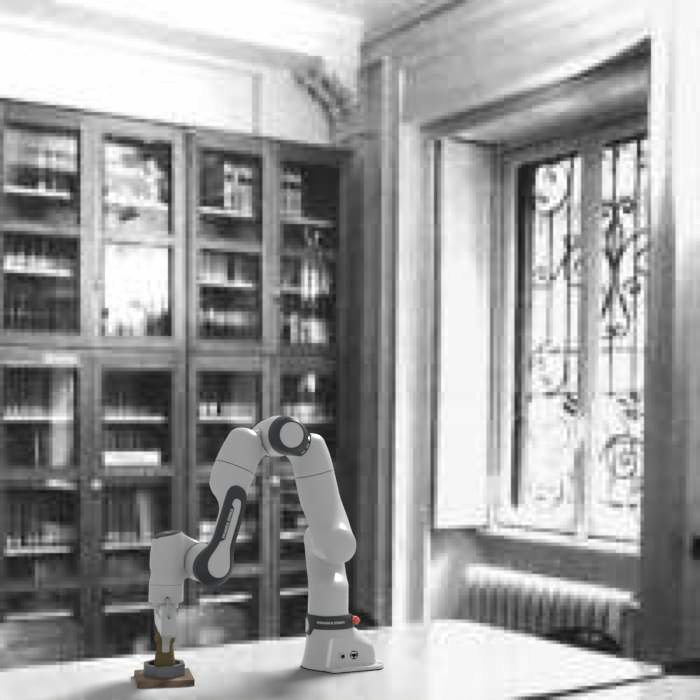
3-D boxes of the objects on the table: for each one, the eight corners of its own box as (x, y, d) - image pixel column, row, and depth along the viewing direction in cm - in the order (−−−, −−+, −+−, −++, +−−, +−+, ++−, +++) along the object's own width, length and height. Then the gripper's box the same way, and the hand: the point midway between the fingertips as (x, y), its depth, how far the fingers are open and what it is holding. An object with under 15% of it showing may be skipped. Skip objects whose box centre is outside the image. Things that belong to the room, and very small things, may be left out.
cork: (171, 678, 274) (172, 633, 275) (148, 676, 275) (149, 632, 276) (179, 672, 280) (180, 629, 281) (157, 671, 281) (158, 628, 282)
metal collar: (181, 669, 284) (182, 658, 284) (185, 678, 274) (186, 666, 274) (142, 671, 281) (142, 659, 281) (145, 679, 271) (145, 667, 272)
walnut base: (188, 673, 286) (188, 667, 286) (194, 685, 272) (194, 679, 272) (134, 675, 282) (134, 669, 283) (137, 688, 269) (137, 682, 269)
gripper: (182, 600, 270) (181, 657, 269) (174, 588, 290) (173, 641, 289) (156, 601, 268) (155, 658, 267) (150, 589, 288) (149, 642, 287)
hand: (164, 649), depth 278 cm, fingers closed on cork, 4 cm apart
